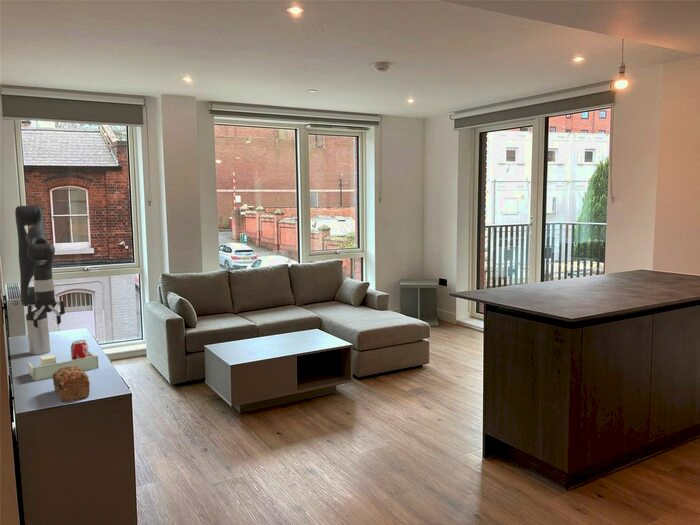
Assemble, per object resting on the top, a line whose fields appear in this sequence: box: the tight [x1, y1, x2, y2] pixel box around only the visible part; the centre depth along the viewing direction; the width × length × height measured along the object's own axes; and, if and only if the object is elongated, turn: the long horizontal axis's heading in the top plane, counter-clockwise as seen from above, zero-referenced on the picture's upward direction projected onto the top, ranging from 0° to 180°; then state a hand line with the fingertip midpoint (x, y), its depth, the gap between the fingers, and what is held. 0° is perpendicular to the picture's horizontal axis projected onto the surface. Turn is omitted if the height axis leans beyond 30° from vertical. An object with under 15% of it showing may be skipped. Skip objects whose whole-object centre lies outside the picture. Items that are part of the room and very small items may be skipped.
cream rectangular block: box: [39, 353, 57, 366], centre depth 242 cm, size 6×5×8 cm
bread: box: [52, 366, 91, 403], centre depth 217 cm, size 19×11×10 cm, turn 36°
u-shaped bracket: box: [27, 350, 100, 382], centre depth 246 cm, size 13×26×6 cm, turn 129°
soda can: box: [70, 339, 89, 360], centre depth 250 cm, size 7×7×12 cm
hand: (47, 325), depth 243 cm, fingers open, 8 cm apart
